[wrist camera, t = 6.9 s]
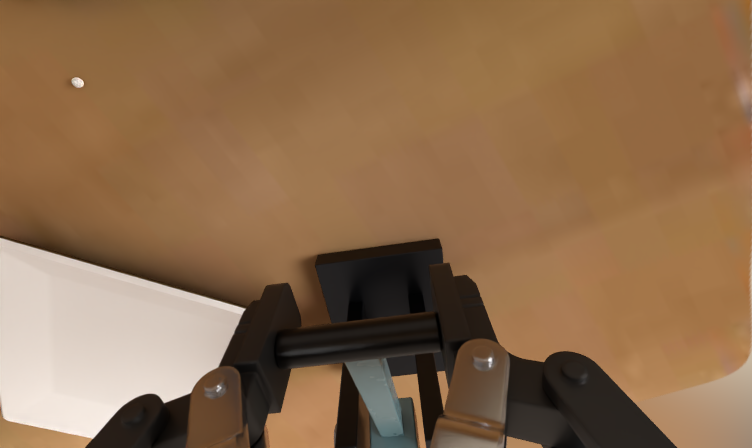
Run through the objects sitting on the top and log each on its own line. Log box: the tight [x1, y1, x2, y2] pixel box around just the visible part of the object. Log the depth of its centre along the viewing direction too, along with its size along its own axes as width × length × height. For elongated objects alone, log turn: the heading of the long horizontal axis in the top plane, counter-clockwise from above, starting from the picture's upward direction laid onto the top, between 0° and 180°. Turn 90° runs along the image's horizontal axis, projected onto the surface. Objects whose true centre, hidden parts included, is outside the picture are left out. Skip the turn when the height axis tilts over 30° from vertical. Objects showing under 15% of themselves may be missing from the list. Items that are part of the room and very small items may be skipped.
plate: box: [0, 236, 247, 438], centre depth 27 cm, size 19×19×2 cm
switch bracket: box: [315, 239, 445, 448], centre depth 22 cm, size 11×8×11 cm
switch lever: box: [275, 311, 443, 448], centre depth 15 cm, size 12×5×2 cm, turn 9°
